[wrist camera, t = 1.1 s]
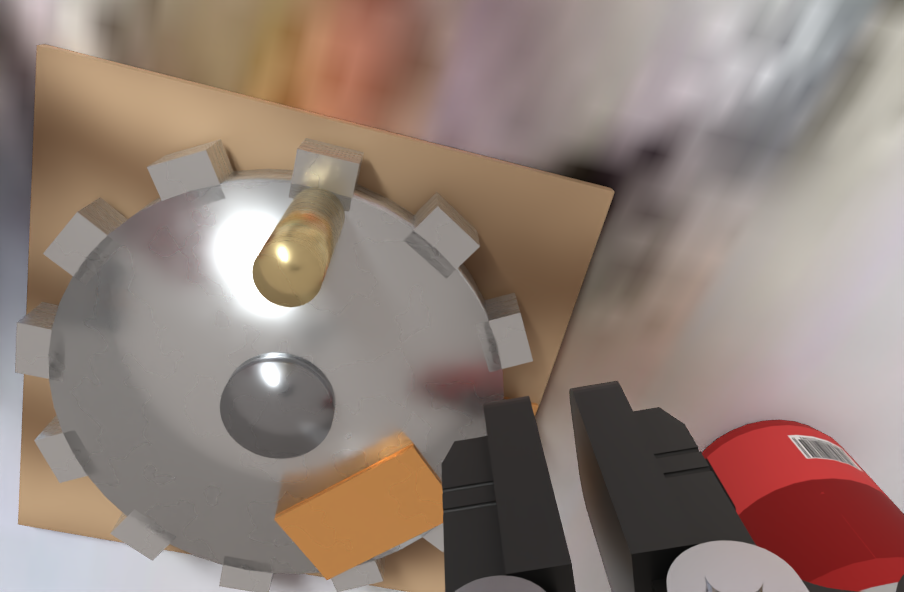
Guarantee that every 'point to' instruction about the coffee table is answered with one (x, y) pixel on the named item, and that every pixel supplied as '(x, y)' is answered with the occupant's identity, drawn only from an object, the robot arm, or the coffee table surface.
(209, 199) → the sprocket
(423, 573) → the board
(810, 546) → the canned food
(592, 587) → the coffee table surface
